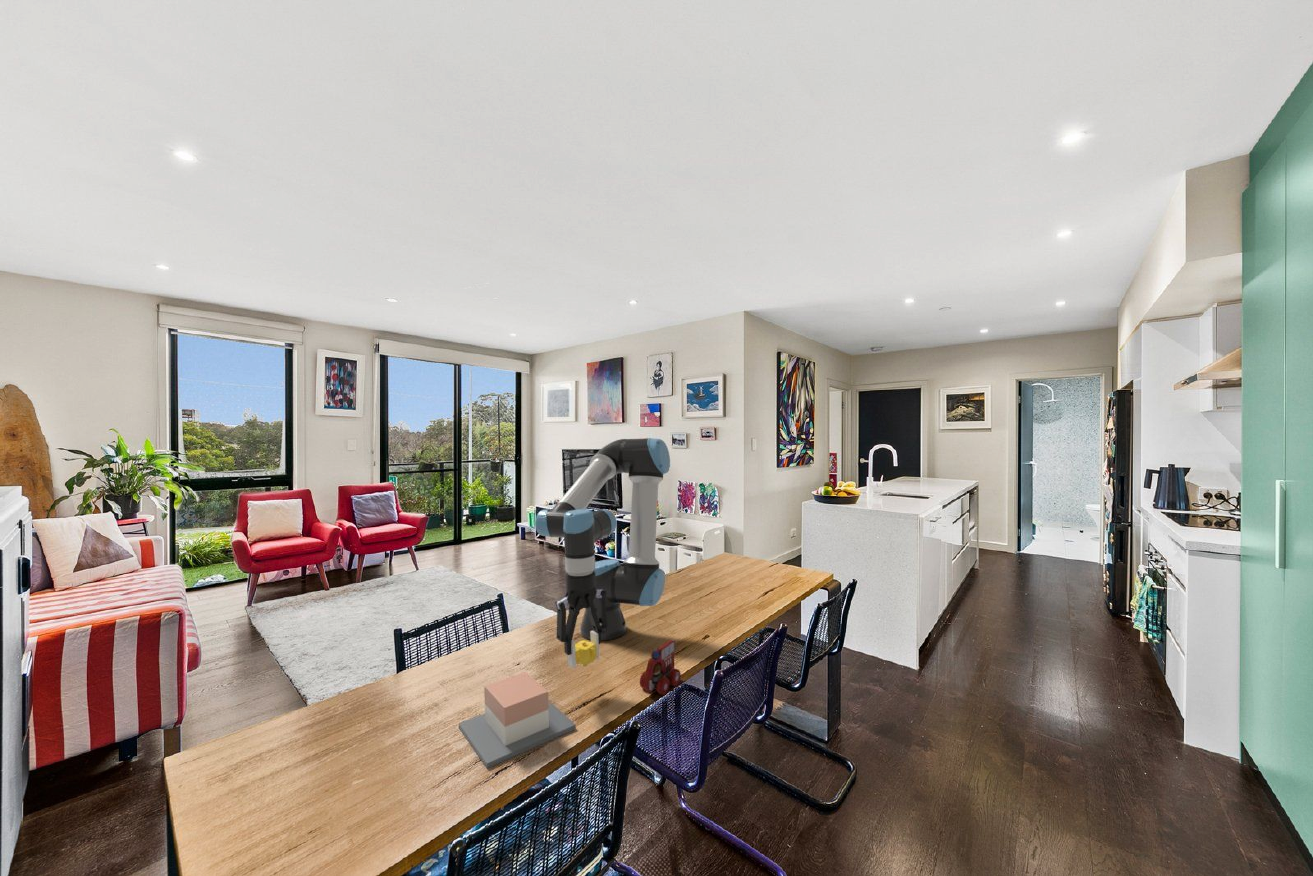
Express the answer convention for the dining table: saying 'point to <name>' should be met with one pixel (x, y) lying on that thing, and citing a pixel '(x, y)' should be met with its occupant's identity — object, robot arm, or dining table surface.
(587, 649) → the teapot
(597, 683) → the dining table surface
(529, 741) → the tower base
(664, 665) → the toy fire truck
